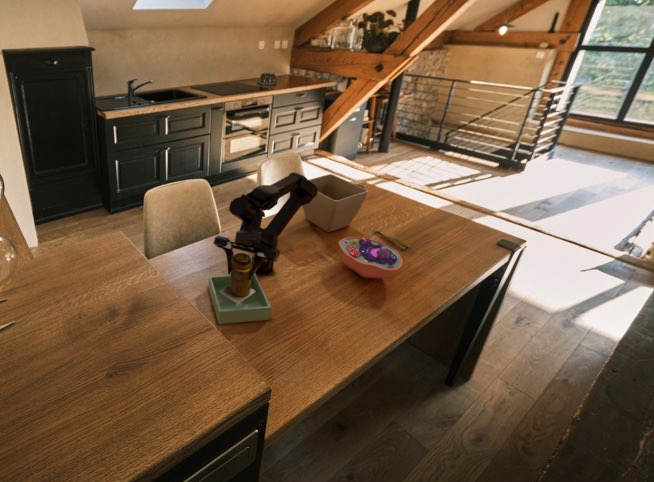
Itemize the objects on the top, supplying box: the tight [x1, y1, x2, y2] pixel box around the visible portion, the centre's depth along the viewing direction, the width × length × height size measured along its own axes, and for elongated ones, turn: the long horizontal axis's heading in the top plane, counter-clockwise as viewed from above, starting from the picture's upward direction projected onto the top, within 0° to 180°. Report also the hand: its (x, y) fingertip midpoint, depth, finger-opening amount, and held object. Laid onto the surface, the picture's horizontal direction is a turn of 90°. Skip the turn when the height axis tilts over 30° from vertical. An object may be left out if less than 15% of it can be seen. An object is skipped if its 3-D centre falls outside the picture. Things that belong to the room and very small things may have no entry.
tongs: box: [374, 230, 410, 251], centre depth 148 cm, size 4×13×2 cm, turn 35°
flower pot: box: [302, 173, 369, 233], centre depth 158 cm, size 19×19×17 cm
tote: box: [207, 273, 272, 325], centre depth 117 cm, size 15×15×5 cm
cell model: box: [338, 236, 404, 280], centre depth 130 cm, size 17×20×11 cm
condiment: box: [220, 252, 256, 304], centre depth 114 cm, size 7×8×12 cm
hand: (239, 276), depth 112 cm, fingers closed on condiment, 6 cm apart
